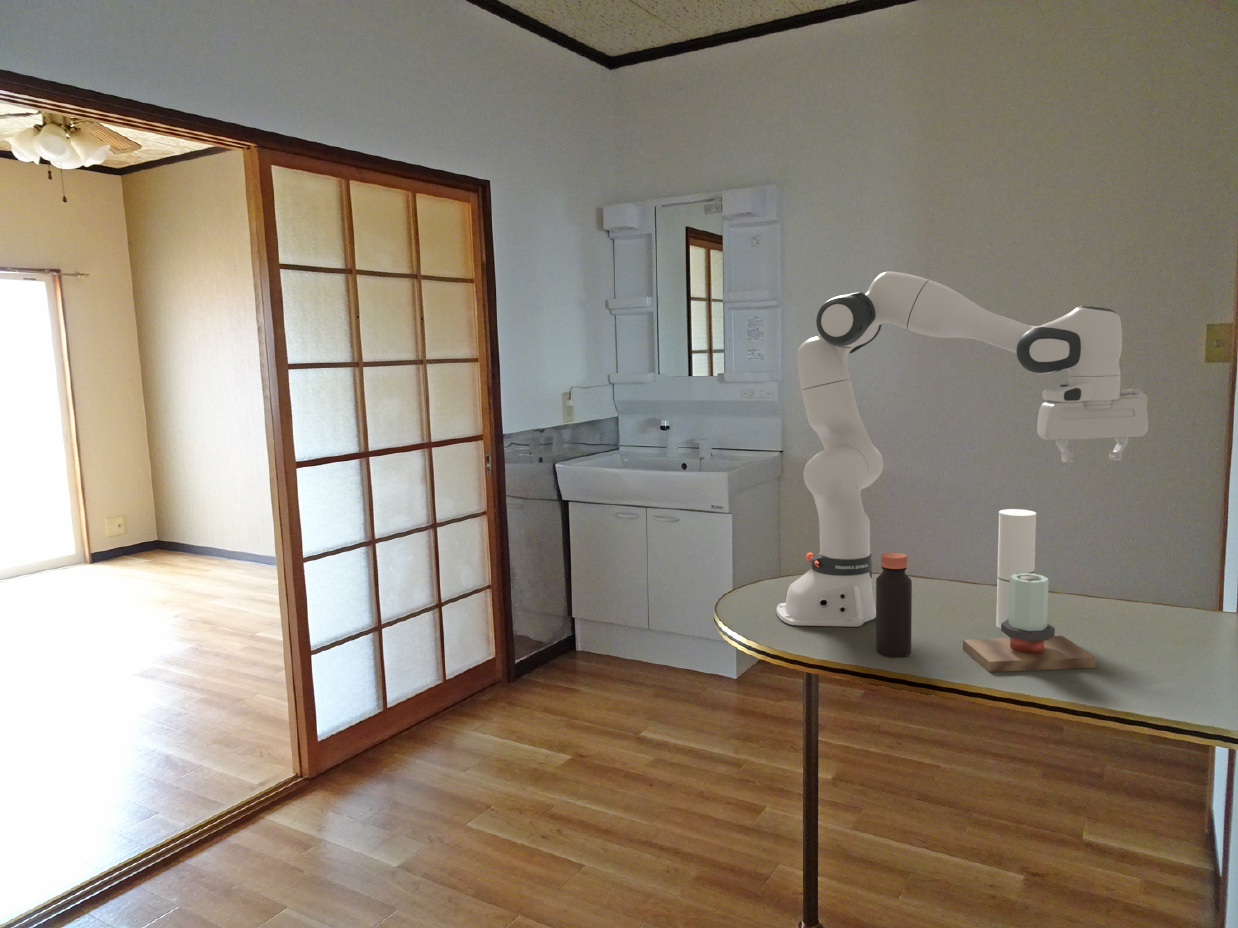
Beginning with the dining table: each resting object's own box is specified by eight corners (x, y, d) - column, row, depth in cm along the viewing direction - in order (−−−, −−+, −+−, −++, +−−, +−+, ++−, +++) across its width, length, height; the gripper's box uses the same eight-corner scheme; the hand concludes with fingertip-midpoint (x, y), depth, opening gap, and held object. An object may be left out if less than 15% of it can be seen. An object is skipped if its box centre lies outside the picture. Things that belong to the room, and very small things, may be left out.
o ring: (1015, 641, 162) (1015, 633, 162) (995, 626, 171) (995, 619, 171) (1061, 639, 163) (1061, 631, 162) (1038, 624, 171) (1038, 617, 171)
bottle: (899, 644, 177) (900, 549, 174) (917, 656, 171) (919, 557, 168) (869, 648, 176) (869, 552, 173) (886, 659, 169) (887, 560, 166)
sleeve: (1019, 631, 163) (1020, 582, 162) (1004, 620, 170) (1005, 573, 168) (1051, 630, 164) (1053, 581, 162) (1035, 619, 170) (1037, 572, 168)
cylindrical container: (1036, 632, 181) (1040, 515, 178) (1000, 631, 183) (1003, 515, 179) (1027, 621, 188) (1031, 509, 185) (992, 620, 190) (995, 509, 186)
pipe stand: (988, 671, 161) (990, 589, 159) (962, 649, 173) (964, 571, 171) (1095, 667, 162) (1098, 584, 159) (1061, 645, 173) (1064, 567, 171)
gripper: (1137, 387, 171) (1134, 456, 172) (1034, 391, 170) (1032, 460, 172) (1157, 389, 164) (1153, 460, 166) (1050, 393, 164) (1048, 465, 166)
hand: (1091, 460), depth 169 cm, fingers open, 8 cm apart
